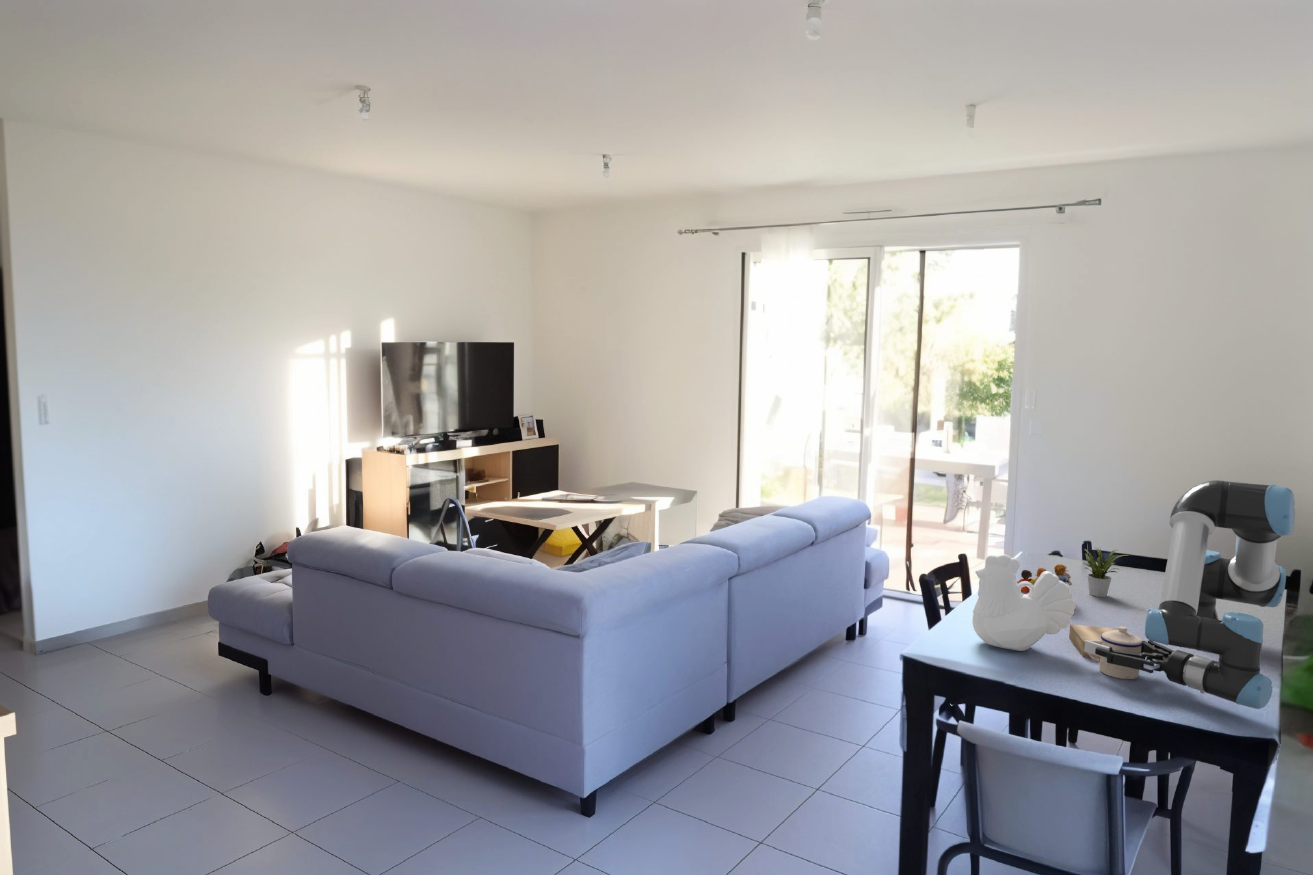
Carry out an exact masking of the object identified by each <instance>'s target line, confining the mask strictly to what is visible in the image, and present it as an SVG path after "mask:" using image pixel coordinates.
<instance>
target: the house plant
mask: <svg viewBox="0 0 1313 875" xmlns="http://www.w3.org/2000/svg"><path fill="white" fill-rule="evenodd" d="M1095 550H1096V552H1097V554H1098V557H1097V559H1096V560H1095V558H1094V555H1092V553H1090V551H1088V550H1087V549H1086V548H1084V551H1086V553H1085V559H1086V561H1087V562H1082V564H1083V565H1086V566H1088V567H1089V568H1091V569H1089V568H1088V567H1084V568H1083V569H1085V570H1086V569H1087V570H1088V571H1090V572H1091V573H1088V574H1087V584H1088V595H1090V596H1092V595H1094V596H1093V597H1097V598H1098V597H1099V598H1106V597H1107V596H1108V593H1109V589H1110V585H1111V581H1112V578H1113V577H1111V576H1109V575H1107V574H1108V573H1118V571H1116V570H1119V568H1117V567H1113V568H1111V566H1113V565H1114V564H1115V562H1114V561H1115V560H1116V559H1118V558H1121V557H1123V556H1125V557H1126V556H1129V557H1130V555H1128V554H1122V555H1119V554H1117V555H1116V554H1115V552H1117V551H1118V549H1114V550H1112V551H1110V552H1108V554H1107V555H1106V557H1105V559H1104V558H1103V552H1102V549H1101V548H1097V547H1095ZM1081 553H1083V554H1084V552H1081ZM1113 554H1115V555H1113ZM1103 559H1104V560H1103Z"/></svg>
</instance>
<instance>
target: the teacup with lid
mask: <svg viewBox="0 0 1313 875" xmlns="http://www.w3.org/2000/svg"><path fill="white" fill-rule="evenodd" d="M1117 629H1118V630H1113V631H1109V632H1104V633H1103V634H1102V635H1101V639H1102V641H1099V640H1092V641H1091V642H1094V643H1097V644H1101V645H1104V646H1107V647H1112V650H1116V651H1123V652H1130V653H1136V654H1141V646H1142V645H1143V643H1142V641H1143V640H1142V639H1141V638H1140V637H1139V636H1137V635H1134V634H1133V633H1131V632H1130V631H1128V628H1127V627H1126V626H1118V628H1117ZM1088 654H1089V655H1090V657H1091V659H1093V660H1095V661H1098V662H1099V666H1098V667H1099V670H1100V672H1101V673H1103V674H1105V675H1107V676H1109V677H1113V678H1115V679H1122V680H1134V679H1138V677H1139V674H1140V670H1138V669H1133V668H1129V667H1124V666H1120V665H1115V664H1110V663H1107V659H1106V658H1103V657H1096V656H1094V655H1093V654H1091V653H1088ZM1090 657H1089V658H1090Z"/></svg>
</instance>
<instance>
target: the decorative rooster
mask: <svg viewBox="0 0 1313 875" xmlns="http://www.w3.org/2000/svg"><path fill="white" fill-rule="evenodd" d="M984 562H985V563H984V568H981V569H978V570H975V571H974V572H975V575H976V576H977V577H978V590H977V596H978V597H977V601H976V603H975V605H974V608H973V610H972V626H973V630H974V632H975V633H976V635H977V636H978V637H979V639H981V640H982V642H984V643H986V644H987V645H990V646H994V647H998V648H1001V649H1007V650H1012V651H1018V652H1020V651H1021V652H1023V651H1026V650H1027V651H1028V650H1029V649H1030V648H1032V646H1034V645H1036V644H1037V642H1039V641H1040V640H1041V639H1042V638H1043V637H1044V636H1045V635H1046V634H1047V635H1055V634H1057V633H1059V632H1060V631H1061V629H1066V628H1067V627H1069V626H1070V624H1071V621H1072V620H1073V615H1075V610H1076V608H1077V602H1076V601H1075V600H1074V598H1072V596H1073V595H1072V592H1071V591H1070V587H1069V584H1068V585H1066V584H1067V583H1066V584H1065V583H1064V582H1062V581H1060V580H1059V578H1058V576H1057V575H1055V574H1056V573H1053V572H1051V570H1047V571H1044V572H1043V573H1042V574H1041V575H1040V576H1039V578H1038V577H1037V578H1038V579H1037V580H1036V582H1035V584H1034V585H1032V584H1031V583H1030V582H1028V581H1023V582H1020V583H1019V584H1018V585H1017V581H1018V580H1017V575H1016V574H1017V573H1018V571H1019V569H1020V567H1021V563H1020V560H1018V558H1016V557H1011V556H1009V555H1008V554H1003V553H1000V554H997V555H993V554H991V555H990V554H989V555H988V556H986V558H985V561H984ZM1024 586H1027V587H1028V588H1029V589H1030V592H1029V593H1028V594H1022V593H1021V588H1022V587H1024Z"/></svg>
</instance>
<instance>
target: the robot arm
mask: <svg viewBox="0 0 1313 875" xmlns="http://www.w3.org/2000/svg"><path fill="white" fill-rule="evenodd" d="M1295 505H1296V504H1295V495H1294V492H1293V491H1292V489H1290V488H1289V487H1285V486H1280V485H1279V486H1277V485H1275V484H1271V485H1268V484H1257V483H1256V484H1255V483H1250V482H1249V483H1247V482H1239V481H1237V482H1236V481H1227V480H1226V481H1225V480H1220V479H1218V480H1214V479H1213V480H1208V481H1204V482H1201V483H1199V484H1197V485H1195V486H1193V487H1192V488H1190V489H1189V490H1187V491H1186V492H1184V494H1183V495H1181V496H1180V498H1178V500H1177V501H1176V502H1175V504H1174V505H1173V508H1172V510H1171V513H1170V517H1169V518H1170V519H1169V525H1170V528H1171V529H1172V533H1171V539H1170V543H1169V544H1170V545H1169V551H1168V554H1167V562H1166V566H1165V572H1164V578H1163V584H1162V588H1161V595H1160V601H1159V604H1158V605H1159V606H1158V608H1151V607H1150V608H1149V609H1147V612H1146V617H1145V625H1144V635H1145V638H1146V639H1147V641H1146V640H1142V643H1143V645H1142V646H1141V654H1136V653H1130V652H1123V651H1116V650H1112V647H1107V646H1104V645H1100V644H1097V643H1094V642H1091V641H1088V640H1085V647H1084V651H1085V652H1088V653H1091V654H1094V655H1097V656H1100V657H1103V658H1106V659H1107V663H1110V664H1115V665H1120V666H1124V667H1129V668H1133V669H1138V670H1139V671H1142V672H1146V673H1147V674H1154V671H1155V672H1159V673H1160V672H1164V673H1165V676H1166V678H1167V680H1168V681H1170V682H1172V683H1175V684H1178V685H1181V686H1183V687H1184V686H1187V687H1188V688H1190V689H1193V690H1197V691H1199V692H1200V694H1202V695H1204V694H1205V693H1206V694H1209V695H1211V696H1215V697H1216V698H1217V697H1218V698H1220V699H1222V700H1223V699H1224V700H1226V701H1228V702H1232V703H1235V704H1237V705H1239V706H1240V705H1241V706H1243V707H1247V708H1250V709H1251V708H1252V709H1255V710H1259V709H1263V708H1265V707H1266V706H1267V705H1268V704H1269V702H1270V700H1271V698H1272V695H1273V686H1272V685H1273V682H1272V680H1271V678H1269V676H1266V675H1264V674H1263V673H1261V668H1260V667H1261V659H1262V650H1263V643H1264V623H1263V621H1262V620H1261V619H1260V618H1259V617H1256V616H1255V615H1251V614H1248V613H1241V612H1226V613H1224V614H1223V615H1222V618H1221V619H1219V616H1218V613H1217V606H1216V605H1217V600H1223V601H1229V602H1235V603H1236V602H1237V603H1242V604H1248V605H1253V606H1259V607H1261V608H1265V607H1267V608H1277V607H1278V606H1279V605H1280V604H1281V602H1282V599H1283V597H1284V591H1285V588H1286V582H1287V572H1286V568H1284V567H1283V566H1280V565H1278V564H1277V563H1276V562H1275V559H1276V552H1277V544H1278V540H1279V539H1281V538H1282V537H1285V536H1290V535H1292V534H1293V532H1294V528H1295V527H1294V526H1295V517H1296V515H1295V514H1296V511H1295V510H1296V509H1295ZM1216 528H1223V529H1228V530H1229V529H1230V530H1232V532H1233V533H1234V535H1236V539H1235V552H1234V554H1235V555H1234V557H1233V558H1232V559H1230V558H1223V557H1222V554H1221V552H1219V551H1214V550H1210V549H1208V544H1209V543H1208V542H1209V537H1210V535H1212V534H1213V533H1214V532H1215V529H1216ZM1164 645H1166V646H1164ZM1167 646H1173V647H1180V648H1185V649H1191V650H1195V651H1199V652H1203V653H1210V654H1215V655H1218V656H1219V657H1218V660H1214V659H1210V658H1207V657H1204V656H1201V655H1198V654H1197V655H1194V654H1193V653H1191V652H1186V651H1182V650H1179V649H1177V650H1173V649H1171V648H1169V647H1167Z"/></svg>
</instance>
